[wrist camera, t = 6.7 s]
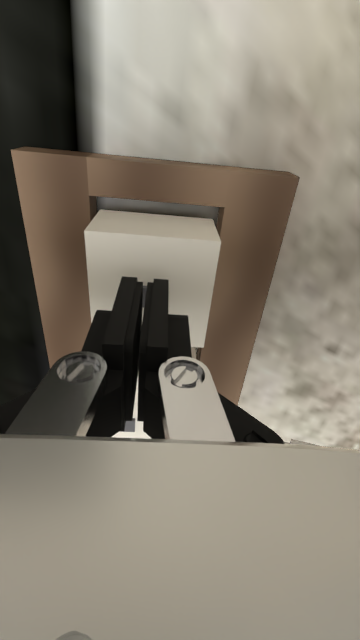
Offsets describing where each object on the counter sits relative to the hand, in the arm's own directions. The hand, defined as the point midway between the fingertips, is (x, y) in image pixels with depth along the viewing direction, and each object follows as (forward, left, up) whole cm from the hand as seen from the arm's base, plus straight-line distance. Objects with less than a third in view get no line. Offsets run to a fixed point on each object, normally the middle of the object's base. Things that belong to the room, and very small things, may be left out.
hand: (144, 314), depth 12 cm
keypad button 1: (0, 0, -4) cm, 4 cm away
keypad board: (0, +7, -6) cm, 9 cm away
